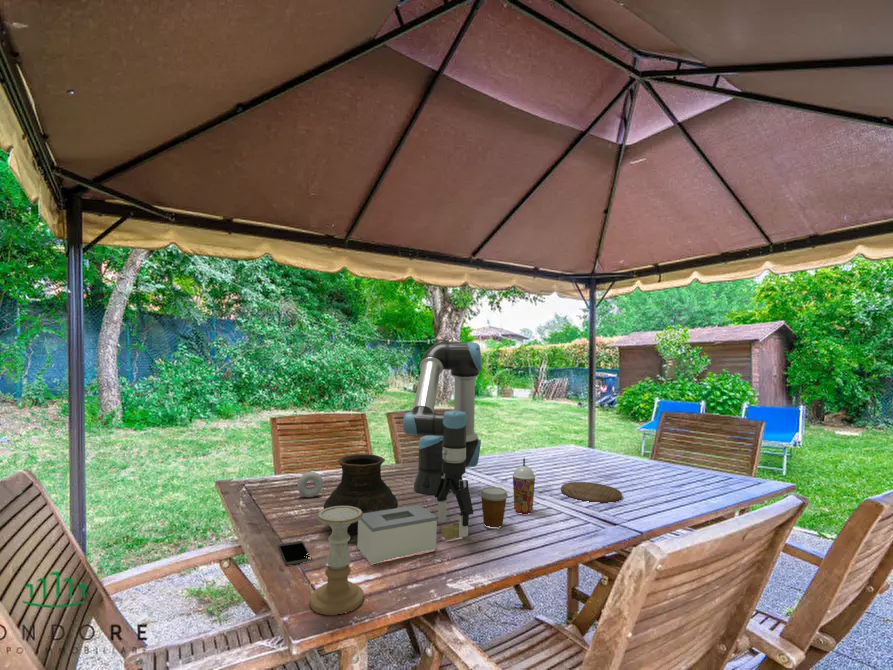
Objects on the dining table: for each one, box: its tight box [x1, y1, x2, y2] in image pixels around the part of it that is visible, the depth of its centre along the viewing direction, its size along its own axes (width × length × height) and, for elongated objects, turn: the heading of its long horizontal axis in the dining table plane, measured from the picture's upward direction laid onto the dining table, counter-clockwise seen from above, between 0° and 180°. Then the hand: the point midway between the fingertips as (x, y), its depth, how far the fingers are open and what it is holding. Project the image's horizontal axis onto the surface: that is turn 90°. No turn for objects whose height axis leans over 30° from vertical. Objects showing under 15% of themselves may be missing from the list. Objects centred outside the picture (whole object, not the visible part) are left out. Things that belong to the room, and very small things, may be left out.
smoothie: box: [512, 457, 536, 514], centre depth 166 cm, size 8×8×20 cm
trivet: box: [560, 481, 623, 504], centre depth 192 cm, size 25×25×2 cm
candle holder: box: [309, 506, 365, 616], centre depth 104 cm, size 12×12×20 cm
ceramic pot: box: [323, 453, 399, 533], centre depth 148 cm, size 24×24×22 cm
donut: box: [296, 471, 324, 498], centre depth 178 cm, size 10×4×10 cm, turn 109°
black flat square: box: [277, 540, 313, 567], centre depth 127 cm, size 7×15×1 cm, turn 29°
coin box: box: [356, 504, 438, 564], centre depth 131 cm, size 20×12×10 cm, turn 119°
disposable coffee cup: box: [479, 486, 509, 527], centre depth 152 cm, size 10×10×12 cm
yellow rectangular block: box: [441, 523, 459, 539], centre depth 140 cm, size 6×3×4 cm, turn 119°
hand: (452, 528), depth 140 cm, fingers open, 13 cm apart
